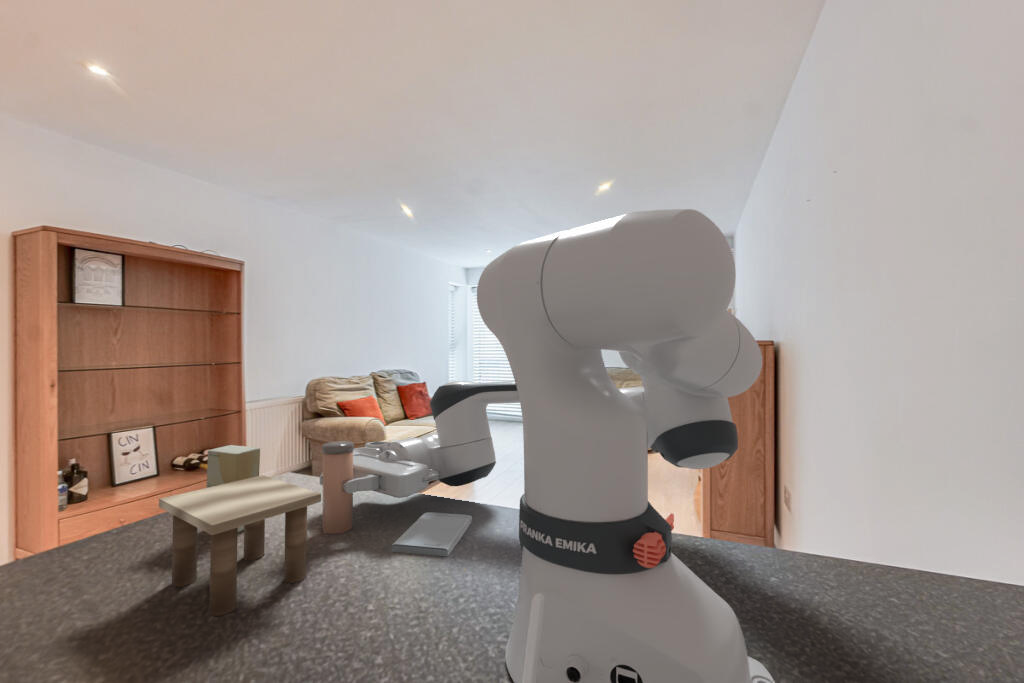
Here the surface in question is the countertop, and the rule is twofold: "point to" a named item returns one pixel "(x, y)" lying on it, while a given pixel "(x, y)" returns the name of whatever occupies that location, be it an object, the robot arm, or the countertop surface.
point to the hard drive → (433, 534)
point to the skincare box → (232, 465)
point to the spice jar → (337, 487)
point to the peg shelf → (221, 519)
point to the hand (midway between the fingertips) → (333, 484)
